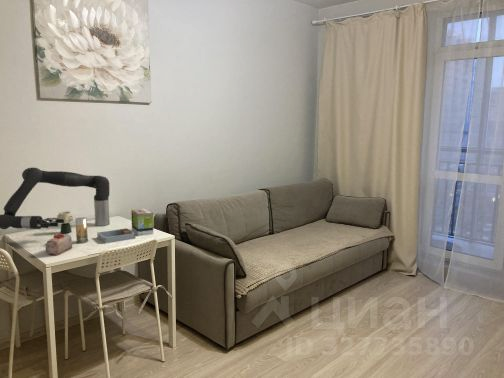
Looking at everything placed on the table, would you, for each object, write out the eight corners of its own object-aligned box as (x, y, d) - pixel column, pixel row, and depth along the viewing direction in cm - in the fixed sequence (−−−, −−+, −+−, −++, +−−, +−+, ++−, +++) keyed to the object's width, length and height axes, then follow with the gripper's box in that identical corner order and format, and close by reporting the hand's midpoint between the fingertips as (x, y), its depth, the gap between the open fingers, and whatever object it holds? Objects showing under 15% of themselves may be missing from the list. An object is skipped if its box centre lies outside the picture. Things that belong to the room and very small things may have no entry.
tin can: (75, 241, 241) (74, 218, 239) (86, 239, 245) (85, 216, 243) (78, 244, 236) (76, 220, 234) (89, 242, 240) (87, 218, 238)
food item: (58, 256, 215) (56, 238, 213) (44, 255, 216) (43, 237, 215) (73, 248, 228) (72, 231, 227) (61, 247, 230) (60, 230, 228)
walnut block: (121, 235, 251) (121, 229, 250) (127, 234, 254) (127, 228, 253) (124, 238, 246) (124, 231, 246) (131, 237, 249) (131, 230, 248)
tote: (97, 239, 247) (97, 232, 246) (126, 234, 257) (126, 228, 257) (104, 244, 236) (104, 238, 235) (135, 239, 246) (135, 233, 246)
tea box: (154, 235, 257) (153, 212, 254) (138, 237, 251) (137, 213, 249) (146, 229, 269) (146, 207, 267) (131, 231, 264) (130, 209, 262)
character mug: (77, 231, 262) (76, 211, 260) (70, 234, 255) (69, 214, 253) (61, 230, 264) (60, 210, 262) (54, 233, 257) (53, 213, 255)
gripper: (25, 218, 229) (55, 219, 230) (37, 213, 243) (65, 213, 244) (26, 231, 230) (56, 232, 231) (37, 225, 244) (65, 226, 245)
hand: (60, 222), depth 238 cm, fingers open, 8 cm apart
